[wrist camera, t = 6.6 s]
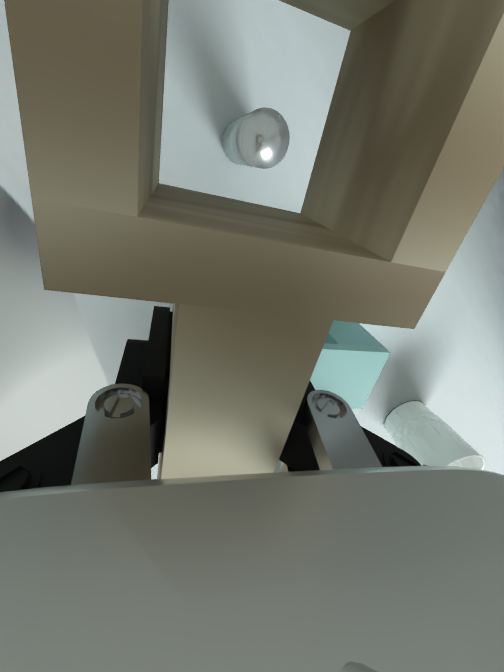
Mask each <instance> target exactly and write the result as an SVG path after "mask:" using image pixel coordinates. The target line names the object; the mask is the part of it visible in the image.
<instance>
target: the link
mask: <svg viewBox="0 0 504 672" xmlns="http://www.w3.org/2000/svg"><path fill="white" fill-rule="evenodd" d="M280 1H282V2H284V3H287V4H289V5H291V6H294V7H296V8H298V9H301V10H303V11H306V12H308V13H310V14H313V15H315V16H317V17H320V18H322V19H324V20H327V21H329V22H331V23H334V24H336V25H339V26H341V27H343V28H346V29H348V30H350V31H351V32H350V36H349V40H348V43H347V47H346V51H345V54H344V58H343V61H342V65H341V69H340V72H339V76H338V79H337V83H336V87H335V90H334V94H333V98H332V101H331V105H330V108H329V112H328V116H327V119H326V123H325V126H324V130H323V134H322V137H321V141H320V145H319V148H318V152H317V155H316V159H315V163H314V166H313V170H312V173H311V177H310V181H309V184H308V188H307V192H306V195H305V199H304V202H303V206H302V210H301V213H296V212H291V211H286V210H282V209H277V208H272V207H268V206H263V205H258V204H253V203H249V202H244V201H239V200H235V199H230V198H225V197H221V196H216V195H211V194H206V193H202V192H197V191H192V190H188V189H183V188H178V187H174V186H169V185H164V184H159V167H160V149H161V130H162V112H163V93H164V74H165V56H166V37H167V19H168V0H4V2H5V9H6V16H7V24H8V31H9V38H10V45H11V53H12V60H13V67H14V74H15V82H16V89H17V96H18V103H19V111H20V118H21V125H22V132H23V140H24V147H25V154H26V161H27V169H28V176H29V183H30V190H31V198H32V205H33V212H34V219H35V227H36V234H37V241H38V248H39V256H40V263H41V270H42V277H43V285H44V290H52V291H62V292H71V293H81V294H90V295H99V296H109V297H118V298H128V299H137V300H147V301H156V302H165V303H173V318H172V339H171V360H170V378H169V389H168V400H167V410H166V420H165V430H164V440H163V450H162V453H160V454H159V465H158V476H157V479H171V478H187V477H204V476H221V475H239V474H258V473H274V470H275V468H276V465H277V463H278V460H279V458H280V455H281V452H282V450H283V447H284V445H285V442H286V440H287V437H288V435H289V432H290V430H291V427H292V425H293V422H294V419H295V417H296V414H297V412H298V409H299V407H300V404H301V402H302V399H303V397H304V394H305V391H306V389H307V386H308V384H309V381H310V379H311V376H312V374H313V371H314V369H315V366H316V363H317V361H318V358H319V356H320V353H321V351H322V348H323V346H324V343H325V341H326V338H327V335H328V333H329V330H330V328H331V325H332V323H333V320H335V321H344V322H354V323H363V324H373V325H382V326H392V327H401V328H410V329H414V328H415V327H416V325H417V323H418V321H419V319H420V317H421V316H422V314H423V312H424V310H425V308H426V307H427V305H428V303H429V301H430V299H431V298H432V296H433V294H434V292H435V290H436V289H437V287H438V285H439V283H440V281H441V279H442V278H443V276H444V274H445V272H446V270H447V269H448V267H449V265H450V263H451V261H452V260H453V258H454V256H455V254H456V252H457V251H458V249H459V247H460V245H461V243H462V241H463V240H464V238H465V236H466V234H467V232H468V231H469V229H470V227H471V225H472V223H473V222H474V220H475V218H476V216H477V214H478V212H479V211H480V209H481V207H482V205H483V203H484V202H485V200H486V198H487V196H488V194H489V193H490V191H491V189H492V187H493V185H494V184H495V182H496V180H497V178H498V176H499V174H500V173H501V171H502V169H503V167H504V0H280Z"/></svg>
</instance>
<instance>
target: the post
mask: <svg viewBox="0 0 504 672" xmlns="http://www.w3.org/2000/svg"><path fill="white" fill-rule="evenodd" d="M288 146H289V130H288V126H287V123H286V121H285V120H284V118H283V117H282V116H281V114H280V113H278V112H277V111H275V110H274V109H271V108H260V109H257V110H255V111H253V112H251V113H249V114H247V115H245V116H243V117H241V118H239V119H237V120H236V121H234V122H232V123H230V124H229V125H228V127H227V128H226V130H225V132H224V135H223V149H224V152H225V154H226V156H227V157H228V158H229V159H230V160H231V161H232V162H234V163H236V164H240V165H245V166H251V167H257V168H263V169H266V168H271V167H273V166H275V165H277V164H278V163H279V162H280V161H281V160H282V159H283V157H284V156H285V154H286V152H287V149H288Z"/></svg>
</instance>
